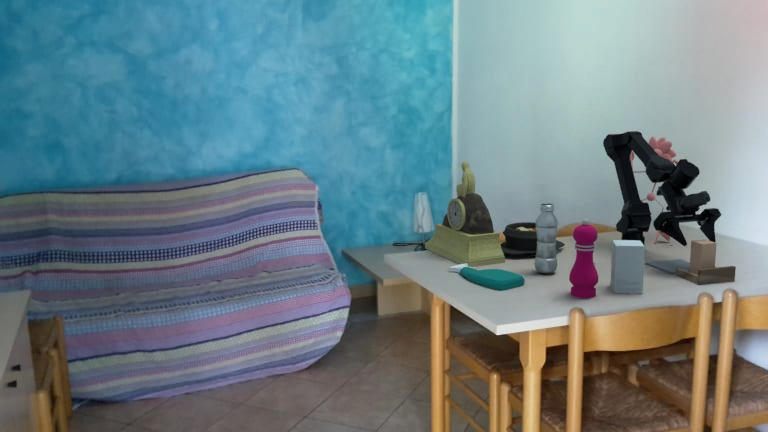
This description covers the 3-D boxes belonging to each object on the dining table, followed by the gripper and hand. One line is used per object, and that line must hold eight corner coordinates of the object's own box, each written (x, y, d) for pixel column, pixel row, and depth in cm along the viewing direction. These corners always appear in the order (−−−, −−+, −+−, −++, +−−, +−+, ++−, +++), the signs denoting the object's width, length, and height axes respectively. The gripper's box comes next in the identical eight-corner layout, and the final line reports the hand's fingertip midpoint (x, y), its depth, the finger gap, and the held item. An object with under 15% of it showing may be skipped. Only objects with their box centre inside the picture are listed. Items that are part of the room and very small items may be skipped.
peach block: (689, 275, 197) (691, 240, 195) (702, 274, 198) (705, 239, 196) (700, 279, 192) (702, 244, 190) (714, 278, 193) (716, 242, 192)
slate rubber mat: (645, 264, 210) (645, 262, 210) (680, 260, 213) (680, 259, 213) (671, 274, 198) (671, 272, 198) (707, 270, 201) (707, 268, 201)
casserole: (518, 263, 214) (519, 236, 212) (480, 251, 230) (480, 226, 228) (578, 252, 226) (579, 226, 225) (537, 241, 242) (538, 217, 240)
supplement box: (643, 294, 181) (645, 246, 178) (612, 293, 182) (614, 245, 180) (638, 286, 188) (641, 239, 185) (609, 285, 189) (611, 239, 187)
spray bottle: (499, 293, 186) (440, 274, 206) (528, 285, 191) (469, 268, 212) (498, 282, 185) (440, 264, 205) (528, 275, 191) (469, 259, 211)
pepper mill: (564, 291, 184) (566, 216, 181) (591, 290, 185) (594, 215, 181) (574, 299, 177) (576, 221, 174) (602, 298, 178) (605, 220, 174)
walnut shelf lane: (675, 275, 197) (676, 261, 196) (709, 271, 200) (710, 258, 199) (699, 284, 188) (700, 270, 187) (734, 281, 190) (735, 266, 190)
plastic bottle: (558, 270, 205) (560, 202, 201) (555, 276, 198) (557, 206, 195) (535, 269, 207) (537, 201, 203) (532, 275, 200) (534, 205, 197)
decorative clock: (425, 248, 235) (424, 159, 230) (458, 244, 240) (458, 157, 235) (468, 268, 210) (468, 168, 204) (504, 263, 215) (505, 165, 209)
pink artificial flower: (676, 248, 228) (683, 139, 222) (609, 235, 248) (614, 136, 242) (702, 242, 236) (710, 137, 231) (635, 230, 257) (640, 134, 251)
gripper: (661, 183, 194) (685, 230, 186) (718, 179, 199) (745, 225, 190) (643, 207, 203) (665, 252, 195) (698, 203, 208) (722, 247, 199)
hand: (700, 244), depth 195 cm, fingers open, 9 cm apart
